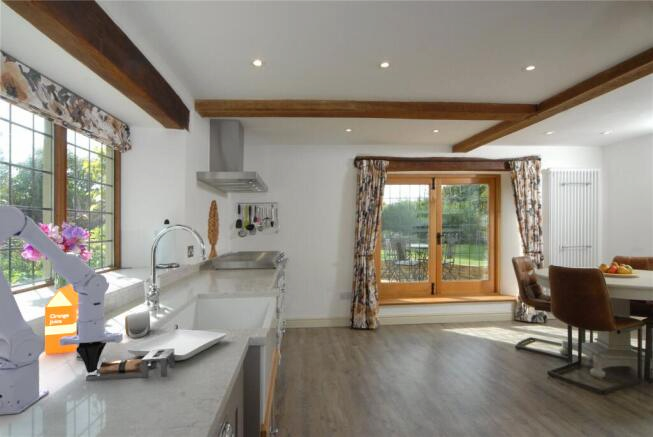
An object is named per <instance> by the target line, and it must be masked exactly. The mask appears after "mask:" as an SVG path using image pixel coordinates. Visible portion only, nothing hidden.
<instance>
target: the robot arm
mask: <svg viewBox="0 0 653 437" xmlns="http://www.w3.org/2000/svg"><path fill="white" fill-rule="evenodd" d="M9 238H12V239H17V240H22V241H24V242H25V243H27V244H28V245H29V246H30V247H32V248H33V249H34V250H36V251H37V252H39V253H40V254H41V255H43V256H44V257H45V258H47V259H48V260H50V261H51V263H52V264H51V266H52V268H51V269H52V270H53V271H54V272H55V273H56V274H58V275H59V276H60V277H61V278H62V279H64V280H65V281H67V283H69V285H71V286H72V287H73V290H74V292H77V293H78V335H74V336H64V337H62V338H60V346H65V345H74V344H79V347H78V348H76V350H75V351H77V352H78V353H79V355H80V356H81V358H82V359H83V360H82V361H83V363H84V365H85V368H86V369H85V370H86V372H87V373H88V374H90V373H94V372H95V371H97V368H98V367H99V366H98V365H99V361H100V358H101V355H102V353H103V351H104V349H105V347H106V345H107V343H115V344H118V343H121V342H122V341H124V340H123V337H124V336H123V332H120V333H119V332H105V330H106V329H105V294H106V292H107V291H108V289H109V287H110V283H109V282H108V280H107V278H106V277H105V275H103V274H101V273H96V268H95V267H91V266H89V264H87V263H86V262H85V261H84V260H83V255H81V254H80V253H74V252H65V251H64V250H63V248H61V246H59V245H58V244H57V243H56V242H55V241H54V239H52V238H51V237H50V235H48V234H47V233H46V232H45V231H44V230H43V229H42V228H40V226H38V224H36V222H35V221H34V220H33V218H31V217H30V216H28V215H26V214H24V213H23V211H22V210H21V209H20V208H18V207H16V206H14V205H9V204H4V205H0V247H1V246H2V245H3V244H4V242H6V240H8V239H9ZM44 348H45V342H44V340H43V338H42V337H41V336H40V335H38V334H36V333H35V332H34V330H33V328H32V326H31V325H30V324H29V323H28V322H27V321H26V319H25V318H24V317H23V314H22V312H21V310H20V308H19V305H18V303H17V300H16V298H15V296H14V293H13V291H12V289H11V286H10V284H9V282H8V280H7V277H6V275H5V273H4V270H3V267H2V265H1V264H0V415H2V416H3V415H13V414H15V415H16V414H19V413H22V412H23V411H25V410H26V409H27V408H29V407H30V406H31V405H34V404H35V403H36V402H38V401H39V400H40V399H42V398H43V397H45V396H46V395H48V394H49V392H50V391H49V389H47V390H40V356H41V354H42V353H43V351H44Z"/></svg>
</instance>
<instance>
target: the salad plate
mask: <svg viewBox="0 0 653 437" xmlns="http://www.w3.org/2000/svg"><path fill="white" fill-rule="evenodd" d="M226 335H227V333H225V332H215V331H208V330H207V331H206V330H193V329H173V330H171V331H168V332H165V333H162V334H161V335H160V334H159V335H158V336H155V337H153V338H150V339H147V340H145V341H142V342H139V343H137V344H135V345H133V346H130V347H128V348H127V349H126V351H127V352H128V353H129V354H131V355H135V356H139V357H143V358H144V357H145V356H146V355H147V354H148V353H149V352H150V351H151V350H156V349H172V348H174V352H175V361H177V362H179V361H185V360H188V359H190V358H191V357H193V356H195V355H197V354H199V353H201V352H203V351H205V350H207V349H208V348H210V347H212V346H214V345H216V344H218V343H219V342H221V341H222V340H223V339H224V338H225V337H226ZM162 353H163V352H160V353H158V354H157V357H159V356H160V355H161V354H162ZM167 361H169V357H168V358H167Z"/></svg>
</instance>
